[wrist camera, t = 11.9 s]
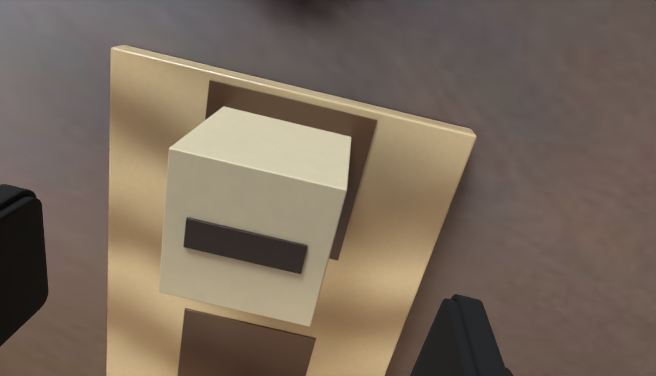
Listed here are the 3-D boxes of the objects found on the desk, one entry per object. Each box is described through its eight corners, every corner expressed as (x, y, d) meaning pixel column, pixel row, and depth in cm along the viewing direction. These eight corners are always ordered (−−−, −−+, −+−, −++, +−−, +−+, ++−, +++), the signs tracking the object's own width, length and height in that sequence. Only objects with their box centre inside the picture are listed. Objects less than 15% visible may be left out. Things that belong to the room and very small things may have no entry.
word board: (123, 44, 17) (108, 47, 16) (471, 128, 17) (478, 136, 16) (115, 373, 24) (104, 389, 23) (358, 428, 24) (358, 446, 23)
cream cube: (223, 105, 16) (166, 148, 12) (351, 136, 16) (347, 191, 12) (209, 219, 18) (156, 294, 14) (323, 245, 18) (310, 329, 14)
